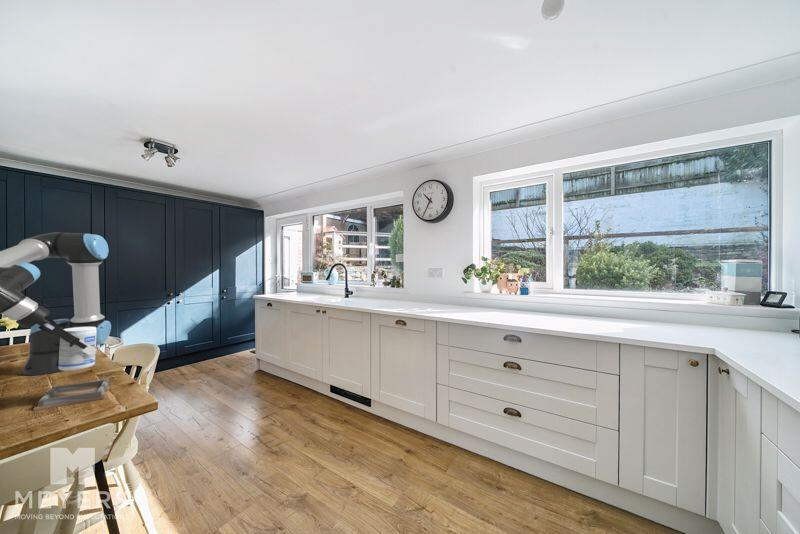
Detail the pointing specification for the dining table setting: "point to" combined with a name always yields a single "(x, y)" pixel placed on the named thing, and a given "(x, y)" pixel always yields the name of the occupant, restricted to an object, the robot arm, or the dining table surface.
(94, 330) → the supplement tub
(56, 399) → the dock
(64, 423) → the dining table surface
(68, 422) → the dining table surface
